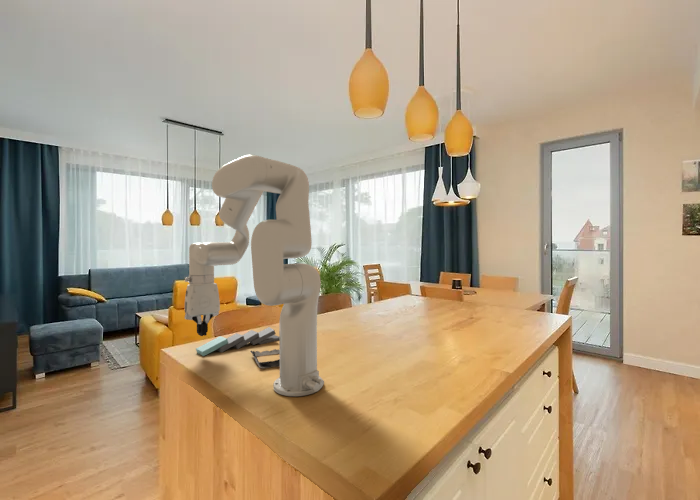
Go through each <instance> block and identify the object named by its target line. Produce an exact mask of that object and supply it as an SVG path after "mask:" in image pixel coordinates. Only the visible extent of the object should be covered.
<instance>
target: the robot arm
mask: <svg viewBox="0 0 700 500" xmlns="http://www.w3.org/2000/svg"><path fill="white" fill-rule="evenodd" d="M309 182H310V181H309V178H308V176H307V174H306V172H305V171H304V170H303V169H301V168H300V167H299V166H296V165H292V164H290V163H286V162H283V161H279V160H276V159H272V158H268V157H264V156H260V155H255V154H246V155H243V156H241V157H238V158H237V159H234V160H232V161H229V162H228V163H225V164H224V165H222V166H221V167H219V168H218V169H217V171H215V173H214V175H213V177H212V181H211V188H212V191H213V194H215V195H216V196H217V197H219V198H223V199H224V201H223V203H222V205H221V207H220V209H219V212H218V216H219V219H220V220H221V221H222V222H223V223H224V224H225V225H227V226H228V227H230V228H232V229H233V230H235V233H234V236H233V237H232V239H231V241H205V242H193V243H191V244H190V245H189V247H188V258H189V260H188V262H189V265H188V267H189V268H188V269H189V270H188V271H189V272H188V273H189V274H188V276H186V277H184V282H185V283H186V282H188V283H189V284H187V285H186V291H185V297H184V313H185V315H184V319H185V320H188V321H193V322H194V323H196V333H197V335H199V336H200V337H203V336H204V337H205V336H207V333H208V329H209V328H208V327H209V323H210V320H212V318H214V317H216V316H218V315H219V314H220V313H219V312H220V310H221V303H220V302H221V301H220V294H219V287H218V283H215V266H216V267H217V266H230V265H235V264H237V263H239V262H240V261H241V259H242V258H243V257H244V255H245V253H246V251H247V249H248V247H249V243H250V251H251V265H252V267H251V268H252V279H253V289H254V294H255V295H256V298H257V299H258V300H259V302H260V303H261V304H263V305H265V306H268V307H269V306H271V307H272V306H279V305H280V306H281V305H283V306H282V308H281V310H280V314H279V315H280V316H279V325H278V326H279V334H278V336H279V340H278V341H279V350H280V354H279V359H280V366H279V377H278V378H276V379H275V380H274V382H273V390H274V392H276V393H277V394H279V395H282V396H286V397H304V396H308V395H312V394H315V393H317V392H319V391H320V390H321V389H322V388H323V386H324V384H325V380H324V379H323V378H322V377H321V376H320V371H319V370H318V304H319V297H320V291H321V285H322V284H321V283H322V282H321V281H322V280H321V275H320V273H319V271H318V270H317V269H316V268H315V267H314V266H313V265H311V264H309V263H308V264H307V263H300V262H298V263H286V264H285V263H284V260H286V259H288V260H289V259H300V258H303V257H306V256H307V255H308V254H309V253H310V252H311V250H312V240H313V239H312V228H311V217H310V207H309V205H310V203H309V199H310V197H309V196H310V195H309V194H310V184H309ZM264 192H266V193H273V194H279V196H278V198H277V201H276V203H275V214H276V216H275V217H276V219H265V220H262V221H260V222H259V223H258V224H257V225H256V226H255V227H254V229H253V232H252V234H251V240H250V232H249V229H248V225H247V224H248V221H249V220H250V218H251V215H252V214H253V212H254V210H255V208H256V207H257V205H258V202H259V201H260V199H261V198H262V195H263V193H264Z"/></svg>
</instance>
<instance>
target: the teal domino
mask: <svg viewBox="0 0 700 500" xmlns="http://www.w3.org/2000/svg"><path fill="white" fill-rule="evenodd" d="M227 338H228V337H224V336H221V335H220V336H218V337H215V338H214V339H212V340H210V341H208V342H206V343H204V344H202V345H200V346H198V347H196V348H195V351H196V353H197V354H198V355H201V356H202V357H205V356H206V355H208V354H210V353H213V352H214V351H217V350H216V349H218V348H220V347H222V346H223V345H225V344H227V343H228V340H227Z"/></svg>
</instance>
